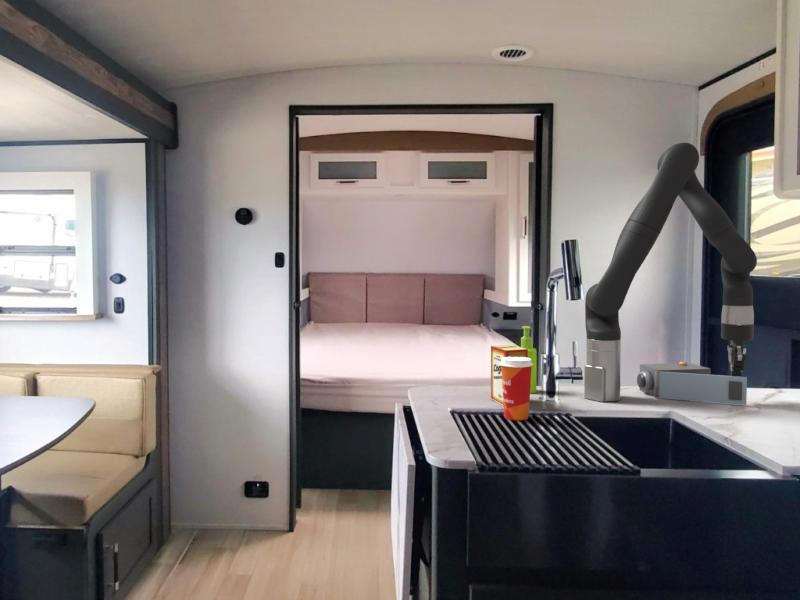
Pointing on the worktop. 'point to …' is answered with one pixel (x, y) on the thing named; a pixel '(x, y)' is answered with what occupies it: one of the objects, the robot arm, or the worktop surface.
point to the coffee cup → (516, 387)
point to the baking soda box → (496, 373)
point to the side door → (701, 387)
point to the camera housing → (648, 371)
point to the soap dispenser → (530, 356)
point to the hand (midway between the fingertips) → (736, 384)
